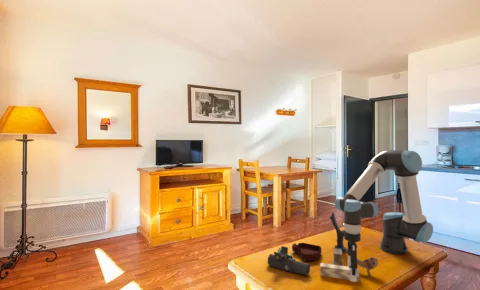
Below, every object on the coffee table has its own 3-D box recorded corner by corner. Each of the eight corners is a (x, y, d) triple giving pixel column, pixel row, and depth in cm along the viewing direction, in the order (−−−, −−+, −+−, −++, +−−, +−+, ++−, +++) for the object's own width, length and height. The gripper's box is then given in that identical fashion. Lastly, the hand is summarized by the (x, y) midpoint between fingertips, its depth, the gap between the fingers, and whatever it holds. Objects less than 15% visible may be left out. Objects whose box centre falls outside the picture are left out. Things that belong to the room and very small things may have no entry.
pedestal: (342, 263, 150) (343, 248, 150) (344, 270, 141) (344, 255, 141) (331, 261, 152) (331, 247, 152) (332, 268, 143) (332, 253, 143)
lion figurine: (378, 273, 138) (378, 255, 138) (377, 277, 134) (378, 259, 134) (347, 267, 145) (347, 250, 145) (346, 271, 141) (346, 254, 141)
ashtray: (329, 260, 154) (329, 252, 154) (304, 264, 149) (304, 255, 149) (313, 248, 171) (313, 241, 171) (289, 251, 166) (289, 243, 166)
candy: (293, 259, 153) (290, 253, 152) (289, 263, 152) (285, 257, 152) (284, 251, 165) (281, 246, 164) (280, 254, 164) (276, 249, 163)
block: (358, 278, 134) (358, 268, 134) (359, 281, 130) (359, 271, 130) (320, 272, 140) (320, 262, 140) (320, 275, 136) (320, 266, 136)
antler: (342, 247, 172) (342, 208, 171) (351, 252, 164) (351, 211, 164) (327, 250, 168) (327, 210, 168) (335, 255, 160) (335, 213, 160)
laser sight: (304, 280, 132) (304, 259, 132) (264, 268, 144) (264, 249, 144) (311, 272, 140) (311, 252, 140) (272, 261, 152) (272, 243, 152)
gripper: (342, 224, 146) (341, 262, 146) (346, 239, 122) (345, 285, 122) (357, 225, 144) (356, 264, 144) (364, 241, 120) (363, 288, 120)
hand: (351, 274), depth 133 cm, fingers open, 13 cm apart
